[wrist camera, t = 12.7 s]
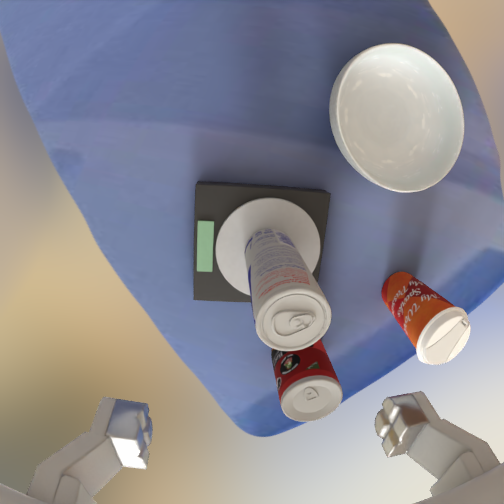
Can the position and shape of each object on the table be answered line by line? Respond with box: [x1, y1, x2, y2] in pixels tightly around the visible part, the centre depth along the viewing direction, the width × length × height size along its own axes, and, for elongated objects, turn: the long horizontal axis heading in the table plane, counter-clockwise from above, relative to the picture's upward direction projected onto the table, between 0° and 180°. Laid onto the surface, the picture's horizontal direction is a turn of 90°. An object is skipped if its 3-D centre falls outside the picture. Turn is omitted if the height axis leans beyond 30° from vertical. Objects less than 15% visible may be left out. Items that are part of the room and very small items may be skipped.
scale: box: [194, 181, 330, 302], centre depth 37 cm, size 14×15×3 cm
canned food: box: [271, 339, 343, 422], centre depth 40 cm, size 8×8×11 cm
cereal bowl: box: [329, 43, 464, 192], centre depth 31 cm, size 17×17×7 cm
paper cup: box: [382, 272, 470, 365], centre depth 36 cm, size 8×8×14 cm
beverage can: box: [244, 228, 331, 351], centre depth 29 cm, size 6×6×15 cm
